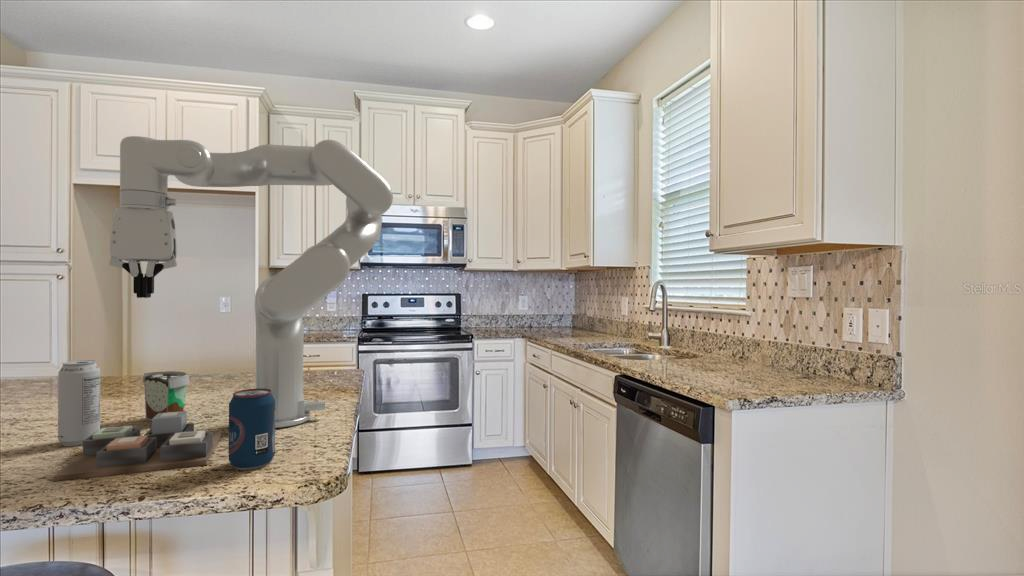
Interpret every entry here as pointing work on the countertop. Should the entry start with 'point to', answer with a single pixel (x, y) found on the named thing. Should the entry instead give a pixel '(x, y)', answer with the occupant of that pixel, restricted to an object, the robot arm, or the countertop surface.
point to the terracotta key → (127, 443)
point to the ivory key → (187, 437)
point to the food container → (164, 392)
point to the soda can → (251, 428)
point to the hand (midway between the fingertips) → (143, 297)
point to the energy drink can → (78, 401)
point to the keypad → (139, 455)
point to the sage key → (112, 432)
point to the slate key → (169, 422)
